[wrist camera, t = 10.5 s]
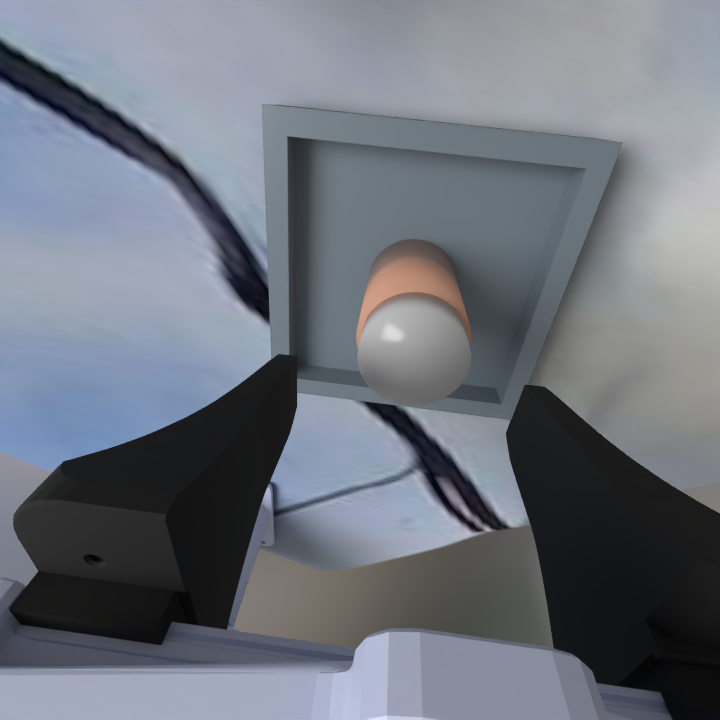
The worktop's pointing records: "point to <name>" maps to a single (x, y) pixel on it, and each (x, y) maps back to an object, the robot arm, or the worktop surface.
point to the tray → (423, 237)
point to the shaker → (413, 325)
